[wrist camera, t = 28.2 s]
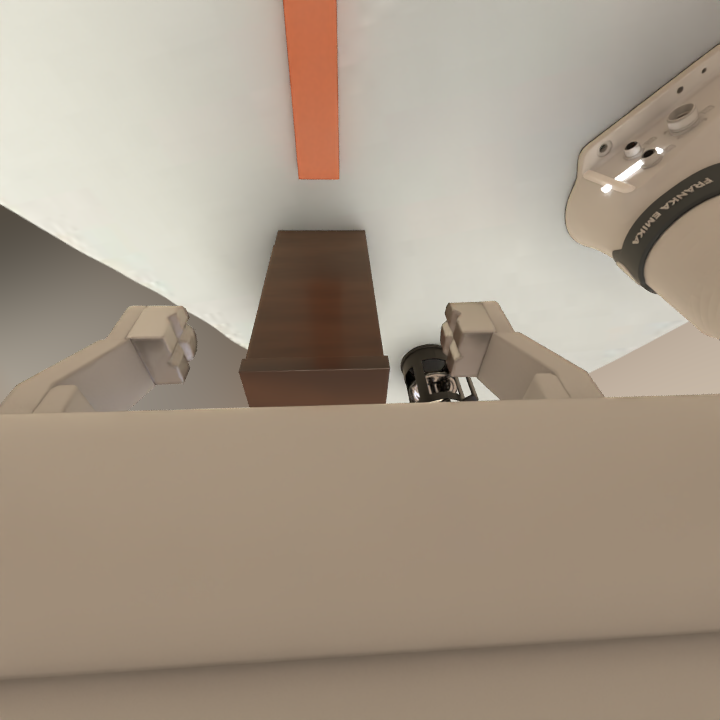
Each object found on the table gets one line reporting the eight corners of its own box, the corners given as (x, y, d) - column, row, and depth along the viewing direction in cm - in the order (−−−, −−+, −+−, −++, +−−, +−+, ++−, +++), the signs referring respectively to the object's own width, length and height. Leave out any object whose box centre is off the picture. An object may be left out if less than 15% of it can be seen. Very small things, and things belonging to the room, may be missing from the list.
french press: (415, 389, 71) (440, 504, 55) (387, 363, 66) (406, 482, 49) (469, 360, 66) (515, 477, 50) (444, 330, 61) (486, 449, 44)
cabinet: (267, 228, 47) (225, 371, 28) (367, 228, 48) (390, 368, 29) (282, 319, 58) (258, 469, 39) (363, 318, 58) (378, 464, 40)
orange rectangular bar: (267, -218, 25) (261, -239, 23) (332, -214, 25) (332, -235, 23) (300, 170, 43) (298, 179, 40) (338, 171, 43) (339, 179, 41)
